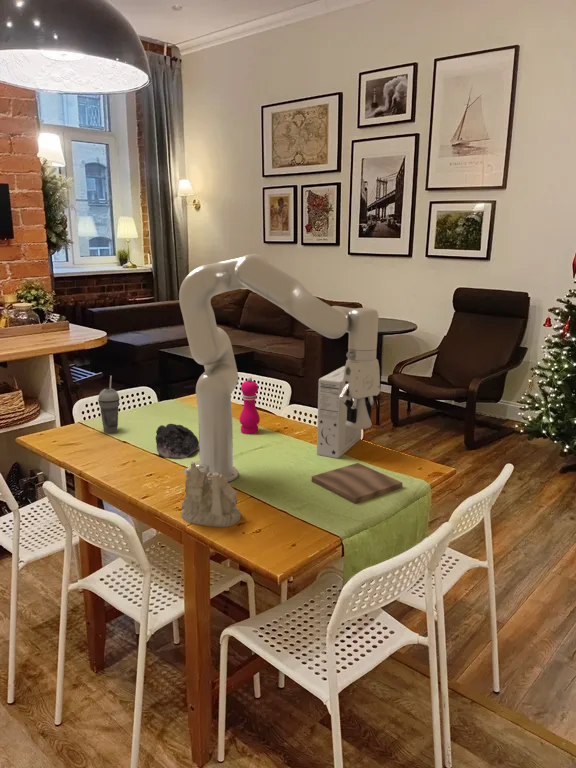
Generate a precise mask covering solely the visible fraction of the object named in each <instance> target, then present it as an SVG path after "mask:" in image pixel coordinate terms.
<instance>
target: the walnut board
mask: <svg viewBox="0 0 576 768" xmlns="http://www.w3.org/2000/svg"><path fill="white" fill-rule="evenodd" d="M311 482H312V483H315V484H316V485H318V486H320V487H322V488H324V489H326V490H328V491H330V492H331V493H333V494H335V495H337V496H339V497H341V498H343V499H345V500H347V501H349V502H351V503H353V504H355V505H356V504H359V503H361V502H365V501H367V500H371V499H374V498H377V497H379V496H381V495H384V494H388V493H390V492H393V491H396V490H399V489H402V488H403V481H400V480H398V479H396V478H393V477H391V476H389V475H387V474H384V473H382V472H380V471H377V470H375V469H373V468H370V467H369V466H365V465H364V464H361V463H360V462H356V463H352V464H349V465H345V466H342V467H338V468H334V469H332V470H328V471H325V472H321V473H318V474H315V475H312V476H311Z"/></svg>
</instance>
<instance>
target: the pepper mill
mask: <svg viewBox="0 0 576 768" xmlns="http://www.w3.org/2000/svg"><path fill="white" fill-rule="evenodd" d="M240 390H241V393H242V397H241V398H242V400H243V408H242V410H241V413H240V415H239V423H240V424H241V426H240V432H241V433H242V434H245V435H246V434H247V435H253V434H257V433H259V426H258V424H259V423H260V421H261V418H260V414H259V412H258V409H257V408H256V407H257V406H256V400H257V399H258V398H257V397H258V396H257V393H258V390H259V385H258V384H257V382H255V381H254V380H253V377H251V376H248V377H246V380H245V381H243V382H242V383H241V386H240Z"/></svg>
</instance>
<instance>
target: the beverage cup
mask: <svg viewBox="0 0 576 768" xmlns="http://www.w3.org/2000/svg"><path fill="white" fill-rule="evenodd" d="M109 376H110V377H109V387H106V388H103V389H102V390H100V392H99V394H98V399H97V401H98V405H99V408H100V414H101V421H102V427H103V431H104V433H105V434H114V433H116V432H118V425H119V405H120V395H119V393H118V391H117V390H116V389H115V388H112V380H113V379H112V377H113V376H112V375H109Z"/></svg>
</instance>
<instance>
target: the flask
mask: <svg viewBox="0 0 576 768" xmlns="http://www.w3.org/2000/svg"><path fill="white" fill-rule="evenodd" d="M355 409H357V418H356V423H352V422H349V421H346V424H345V426H348V427H350V428H354V429H361V430H367V429H370V428H371V427H372V425H373V424H372V420H371V419H370V417H369V414H368V411H367V407H366V403H365V398H361V399H357V402H356V407H355Z"/></svg>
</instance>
